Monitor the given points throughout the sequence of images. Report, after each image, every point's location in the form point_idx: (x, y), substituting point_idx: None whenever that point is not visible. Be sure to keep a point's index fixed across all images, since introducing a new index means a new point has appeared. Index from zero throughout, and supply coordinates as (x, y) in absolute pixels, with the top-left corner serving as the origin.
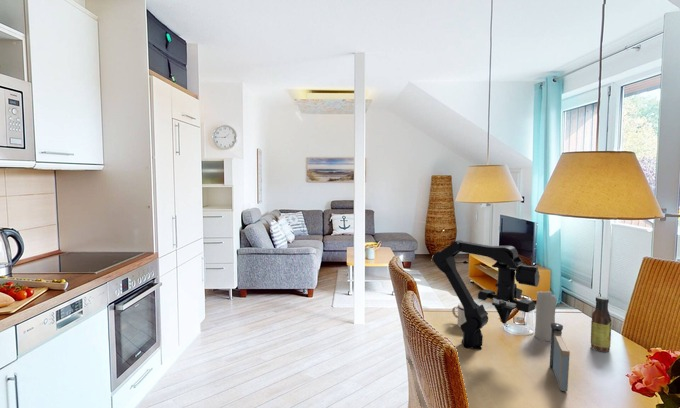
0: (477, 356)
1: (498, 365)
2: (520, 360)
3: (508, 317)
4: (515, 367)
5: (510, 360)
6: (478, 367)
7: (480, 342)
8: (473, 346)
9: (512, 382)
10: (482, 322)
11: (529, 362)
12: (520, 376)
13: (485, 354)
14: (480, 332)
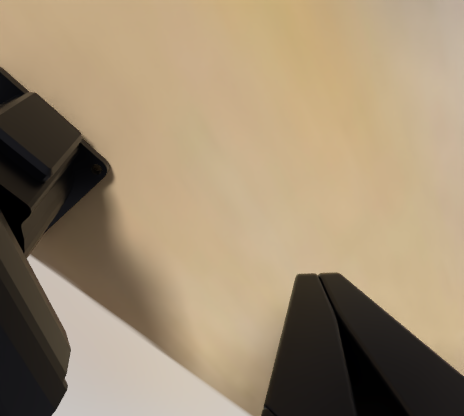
0: (166, 265)
1: (311, 261)
2: (394, 79)
3: (423, 343)
4: (398, 205)
5: (338, 143)
6: (249, 350)
7: (69, 162)
8: (63, 204)
9: (433, 343)
10: (50, 381)
11: (460, 51)
12: (451, 272)
13: (177, 204)
14: (31, 213)
